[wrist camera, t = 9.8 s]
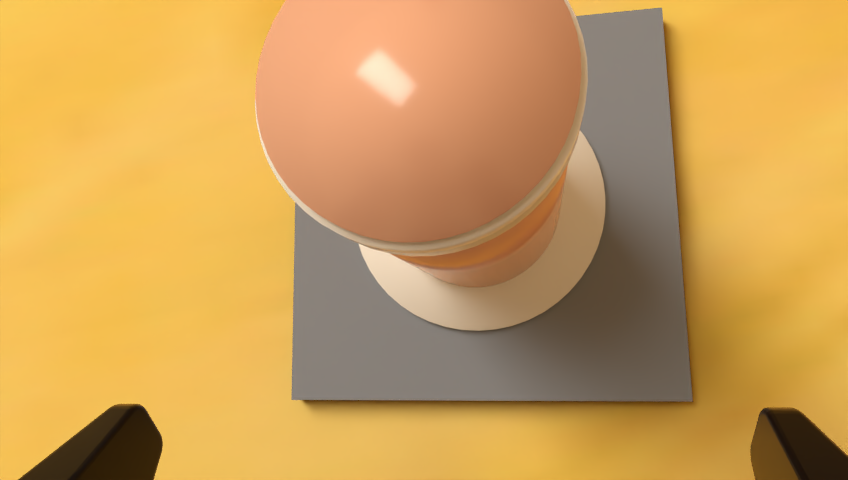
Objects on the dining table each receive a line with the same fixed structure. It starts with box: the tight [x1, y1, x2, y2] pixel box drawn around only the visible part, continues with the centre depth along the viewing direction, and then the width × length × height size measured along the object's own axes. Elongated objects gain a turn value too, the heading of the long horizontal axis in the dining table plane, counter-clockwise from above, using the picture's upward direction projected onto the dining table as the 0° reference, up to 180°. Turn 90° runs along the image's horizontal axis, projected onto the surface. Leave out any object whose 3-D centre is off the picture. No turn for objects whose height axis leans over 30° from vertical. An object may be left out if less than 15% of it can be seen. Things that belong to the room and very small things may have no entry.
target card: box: [292, 8, 693, 402], centre depth 18 cm, size 11×11×1 cm
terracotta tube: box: [255, 0, 588, 287], centre depth 13 cm, size 5×5×9 cm
